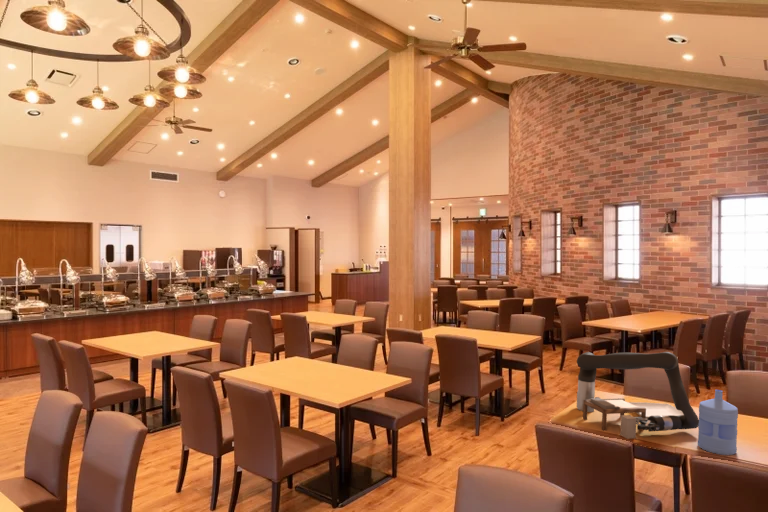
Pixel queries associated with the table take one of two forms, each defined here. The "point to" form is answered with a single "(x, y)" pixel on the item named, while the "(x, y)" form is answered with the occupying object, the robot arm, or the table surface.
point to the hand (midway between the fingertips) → (632, 424)
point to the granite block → (628, 426)
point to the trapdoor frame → (611, 411)
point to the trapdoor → (612, 403)
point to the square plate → (657, 409)
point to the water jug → (717, 426)
